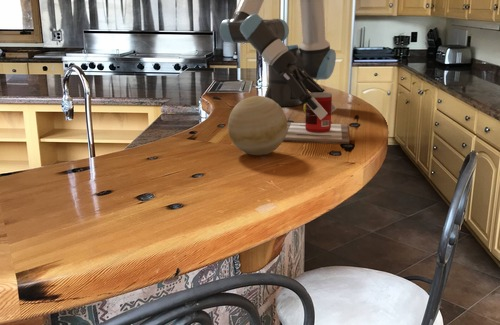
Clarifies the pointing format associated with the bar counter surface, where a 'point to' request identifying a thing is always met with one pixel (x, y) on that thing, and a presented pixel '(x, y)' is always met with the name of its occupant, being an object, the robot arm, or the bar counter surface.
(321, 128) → the canned food
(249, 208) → the bar counter surface
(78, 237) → the bar counter surface
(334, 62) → the robot arm
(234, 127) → the decorative ball
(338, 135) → the clipboard
